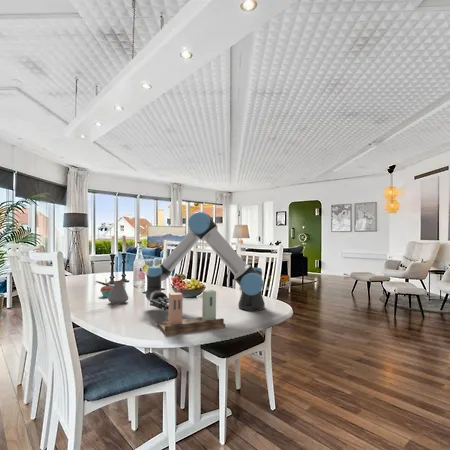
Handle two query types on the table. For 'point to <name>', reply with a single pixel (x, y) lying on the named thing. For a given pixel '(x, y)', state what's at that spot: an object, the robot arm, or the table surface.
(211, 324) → the wooden board
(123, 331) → the table surface
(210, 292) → the pale green block
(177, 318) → the salmon orange rectangular block
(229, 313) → the table surface
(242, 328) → the table surface
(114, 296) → the coffee pot
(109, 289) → the cupcake
